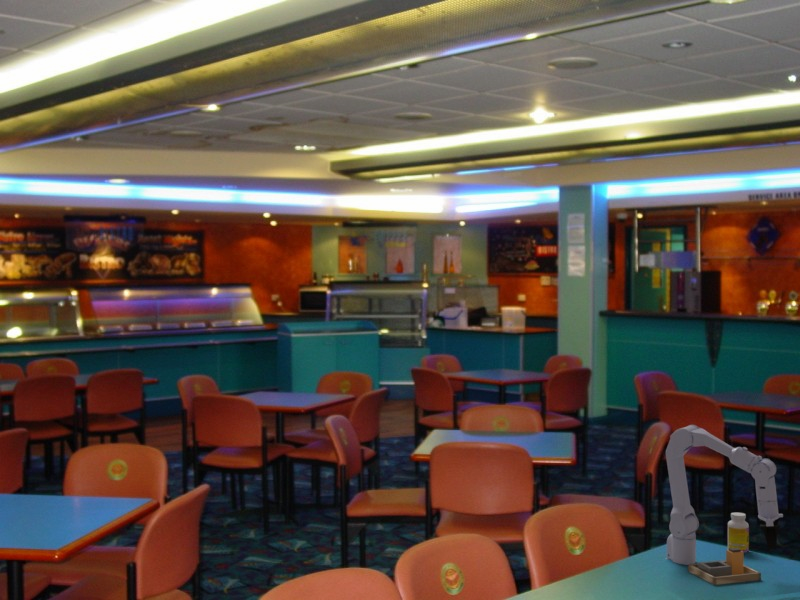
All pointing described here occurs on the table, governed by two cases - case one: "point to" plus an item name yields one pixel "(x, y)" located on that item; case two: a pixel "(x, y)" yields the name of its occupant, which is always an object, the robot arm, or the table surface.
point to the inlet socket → (715, 568)
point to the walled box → (746, 576)
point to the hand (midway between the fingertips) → (772, 545)
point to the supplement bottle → (738, 532)
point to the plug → (735, 560)
